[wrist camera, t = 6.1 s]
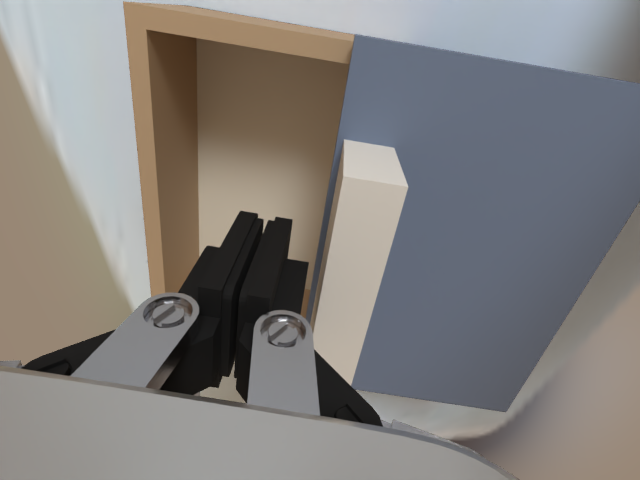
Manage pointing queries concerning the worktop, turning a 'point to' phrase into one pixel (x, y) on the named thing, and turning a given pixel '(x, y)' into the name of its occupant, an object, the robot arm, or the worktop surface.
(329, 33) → the cabinet body box
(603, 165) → the cabinet door panel
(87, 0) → the worktop surface
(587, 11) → the worktop surface
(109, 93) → the worktop surface
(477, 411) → the worktop surface
